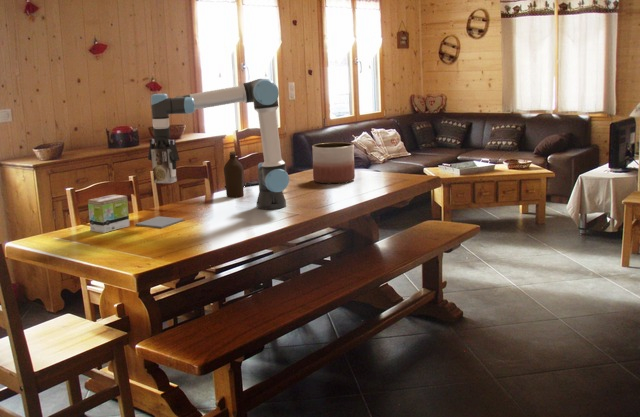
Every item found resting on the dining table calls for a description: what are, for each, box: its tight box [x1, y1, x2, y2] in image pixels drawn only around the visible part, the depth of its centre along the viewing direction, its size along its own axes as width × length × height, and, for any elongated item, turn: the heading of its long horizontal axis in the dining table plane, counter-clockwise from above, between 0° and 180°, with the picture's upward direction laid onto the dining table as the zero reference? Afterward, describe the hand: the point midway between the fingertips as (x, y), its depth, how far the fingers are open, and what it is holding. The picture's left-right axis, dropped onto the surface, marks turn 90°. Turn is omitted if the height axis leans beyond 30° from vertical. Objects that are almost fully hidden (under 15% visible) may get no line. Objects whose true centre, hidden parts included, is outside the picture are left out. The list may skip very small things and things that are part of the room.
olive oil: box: [223, 150, 245, 199], centre depth 373 cm, size 11×11×25 cm
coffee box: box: [151, 148, 178, 184], centre depth 315 cm, size 9×6×16 cm
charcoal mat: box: [135, 216, 186, 229], centre depth 319 cm, size 16×16×1 cm
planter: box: [311, 142, 356, 185], centre depth 410 cm, size 25×25×22 cm
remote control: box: [224, 180, 259, 189], centre depth 409 cm, size 8×32×2 cm, turn 124°
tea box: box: [87, 194, 130, 234], centre depth 310 cm, size 15×10×15 cm
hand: (164, 175), depth 316 cm, fingers closed on coffee box, 10 cm apart
